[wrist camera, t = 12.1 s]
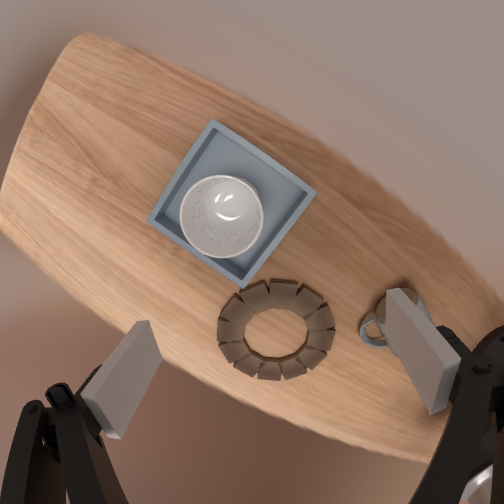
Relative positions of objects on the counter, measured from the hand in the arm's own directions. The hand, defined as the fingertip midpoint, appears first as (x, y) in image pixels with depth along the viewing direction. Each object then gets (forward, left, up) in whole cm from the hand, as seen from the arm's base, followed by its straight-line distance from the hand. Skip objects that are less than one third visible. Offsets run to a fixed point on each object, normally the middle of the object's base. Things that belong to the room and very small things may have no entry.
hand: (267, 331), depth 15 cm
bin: (+6, 0, -24) cm, 25 cm away
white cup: (+6, 0, -24) cm, 24 cm away
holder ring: (-10, +12, -24) cm, 29 cm away
